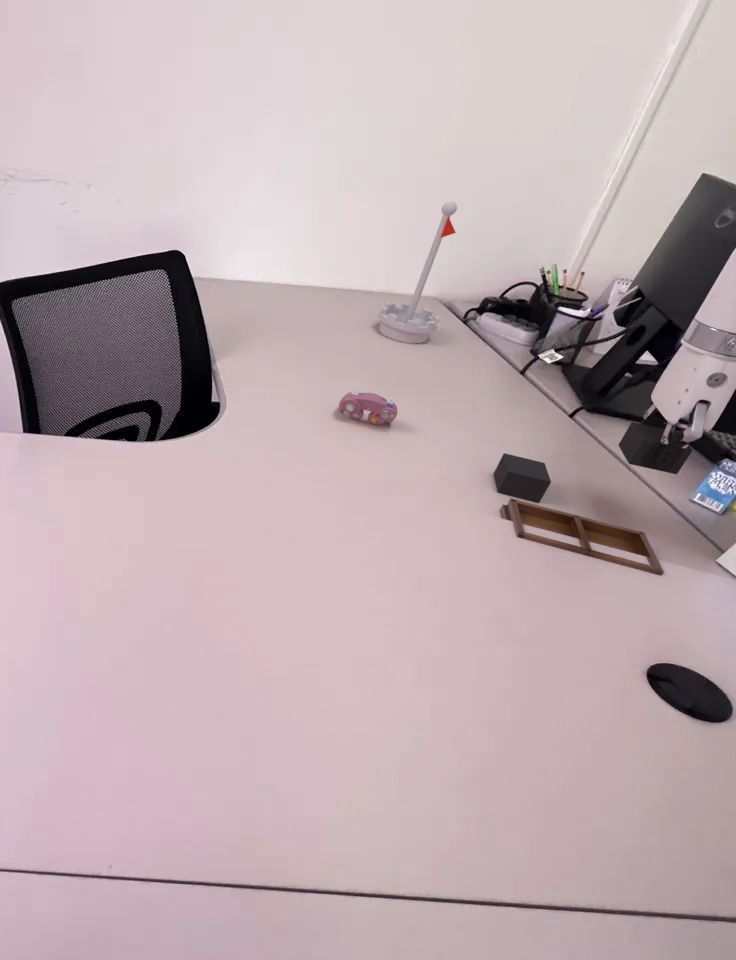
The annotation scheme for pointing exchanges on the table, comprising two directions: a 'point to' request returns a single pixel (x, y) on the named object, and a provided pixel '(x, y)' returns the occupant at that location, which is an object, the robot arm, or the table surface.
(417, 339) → the flag stand
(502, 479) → the black pad
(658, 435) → the black pad
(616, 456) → the table surface
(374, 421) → the video game controller
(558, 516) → the brown wooden frame
